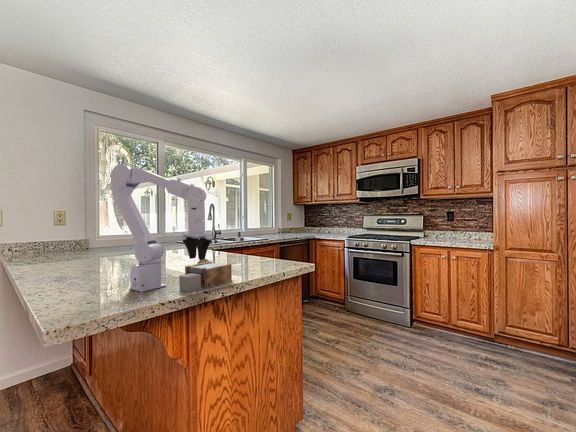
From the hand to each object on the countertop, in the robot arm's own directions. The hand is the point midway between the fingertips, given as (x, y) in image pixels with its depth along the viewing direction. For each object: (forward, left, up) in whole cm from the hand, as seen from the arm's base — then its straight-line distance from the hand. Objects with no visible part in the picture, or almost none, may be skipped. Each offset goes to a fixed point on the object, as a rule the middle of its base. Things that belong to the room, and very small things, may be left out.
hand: (197, 258), depth 102 cm
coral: (+16, +16, -10) cm, 25 cm away
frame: (+7, +2, -10) cm, 13 cm away
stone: (-4, -1, -10) cm, 11 cm away
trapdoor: (+6, +2, -5) cm, 9 cm away
